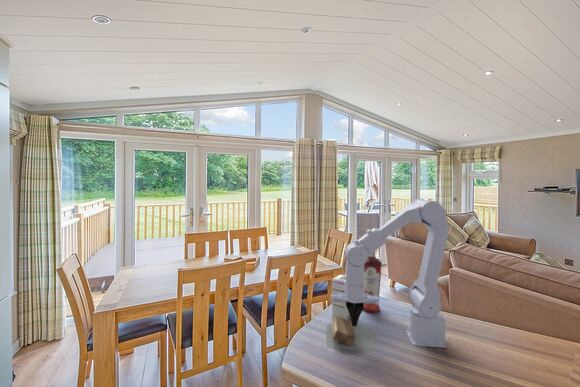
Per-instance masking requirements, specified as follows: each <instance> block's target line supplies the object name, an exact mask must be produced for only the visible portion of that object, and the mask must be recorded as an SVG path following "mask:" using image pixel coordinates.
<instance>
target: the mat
mask: <svg viewBox="0 0 580 387" xmlns="http://www.w3.org/2000/svg"><path fill="white" fill-rule="evenodd" d="M325 326H326V327H325V332H326V335H325V337H326V338H325V339H326V348H327V349H329V348H330V349H341V350H342V349H343V350H359V351H372V352H373V351H375V352H379V349H378V345H377V342H376V339H375V336H374V332H373V329H372V327H371V326H362V325H361V326H359V325H357V327H355V326H353V329H354V334H355V339H354V341H353V344H352V346H350V345H348V344H345V343H342V342H339V341H337V340H334V339H333V337H332V324H326V325H325Z"/></svg>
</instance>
